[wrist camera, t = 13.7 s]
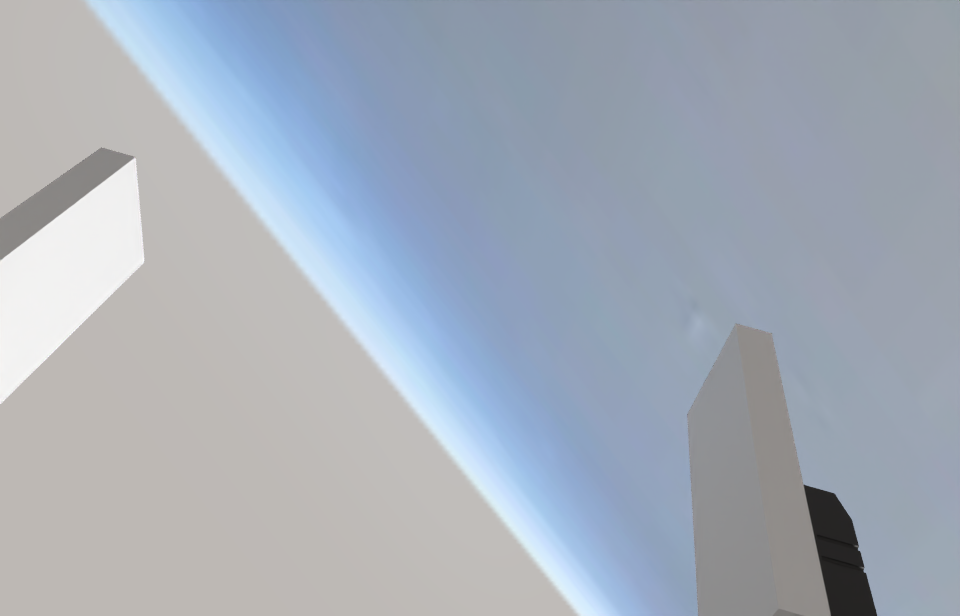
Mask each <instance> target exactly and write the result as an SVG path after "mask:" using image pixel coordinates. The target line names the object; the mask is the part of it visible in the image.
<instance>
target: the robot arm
mask: <svg viewBox="0 0 960 616" xmlns="http://www.w3.org/2000/svg"><path fill="white" fill-rule="evenodd" d="M143 263H144V251H143V239H142V227H141V215H140V203H139V191H138V179H137V168H136V157H133V156H130V155H126V154H123V153H119V152H115V151H112V150H108V149H105V148H100V149H99V150H97V151H96V152H94V153H93V154H91V155H90V156H89V157H87V158H86V159H85V160H83V161H82V162H80V163H79V164H77V165H76V166H74V167H73V168H72V169H70V170H69V171H67V172H66V173H64V174H63V175H61V176H60V177H59V178H57V179H56V180H54V181H53V182H51V183H50V184H49V185H47V186H46V187H44V188H43V189H41V190H40V191H39V192H37V193H36V194H34V195H33V196H31V197H30V198H29V199H27V200H26V201H24V202H23V203H21V204H20V205H19V206H17V207H16V208H14V209H13V210H12V211H10V212H9V213H7V214H6V215H4V216H3V217H1V218H0V404H1V403H2V402H3V401H4V400H5V399H6V398H7V397H8V396H9V395H10V394H11V393H12V392H13V391H14V390H15V389H16V388H17V387H18V386H19V385H20V384H21V383H22V382H23V381H24V380H25V379H26V378H27V377H28V376H29V375H30V374H31V373H32V372H33V371H34V370H35V369H36V368H37V367H38V366H39V365H40V364H41V363H42V362H44V361H45V360H46V359H47V358H48V357H49V356H50V355H51V354H52V353H53V352H54V351H55V350H56V349H57V348H58V347H59V346H60V345H61V344H62V343H63V342H64V341H65V340H66V339H67V338H68V337H69V336H70V335H71V334H72V333H73V332H74V331H75V330H76V329H77V328H78V327H79V326H80V325H81V324H82V323H83V322H84V321H85V320H86V319H87V318H88V317H89V316H90V315H91V314H92V313H93V312H94V311H95V310H96V309H97V308H98V307H99V306H100V305H101V304H102V303H103V302H104V301H105V300H106V299H107V298H108V297H109V296H111V295H112V293H114V291H115V290H116V289H118V288H119V287H120V286H121V285H122V284H123V283H124V282H125V281H126V280H127V279H128V278H129V277H130V276H131V275H132V274H133V273H134V272H135V271H136V270H137V269H138V268H139V267H140V266H141V265H142V264H143ZM687 418H688V436H689V455H690V473H691V491H692V509H693V527H694V546H695V564H696V582H697V600H698V616H877V613H876V609H875V606H874V602H873V598H872V594H871V591H870V587H869V583H868V579H867V575H866V573H864V572H863V570H864V564H863V560H862V557H861V553H860V551H858V547H859V545H858V541H857V538H856V534H855V530H854V526H853V522H852V519H851V518H850V516H849V515H848V513H847V512H846V510H845V509H844V507H843V506H842V504H841V503H840V501H839V500H838V498H837V497H836V495H835V494H834V493H831V492H827V491H824V490H820V489H816V488H813V487H809V486H806V485H803V481H802V476H801V471H800V466H799V462H798V457H797V452H796V447H795V443H794V438H793V433H792V428H791V424H790V419H789V414H788V409H787V405H786V400H785V395H784V390H783V385H782V381H781V376H780V371H779V366H778V362H777V357H776V352H775V347H774V343H773V338H772V333H768V332H765V331H761V330H758V329H754V328H750V327H747V326H743V325H740V324H735V326H734V328H733V330H732V331H731V333H730V335H729V337H728V339H727V341H726V343H725V345H724V346H723V348H722V350H721V352H720V354H719V356H718V358H717V360H716V361H715V363H714V365H713V367H712V369H711V371H710V373H709V375H708V376H707V378H706V380H705V382H704V384H703V386H702V388H701V390H700V392H699V393H698V395H697V397H696V399H695V401H694V403H693V405H692V407H691V408H690V410H689V412H688V414H687Z"/></svg>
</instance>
